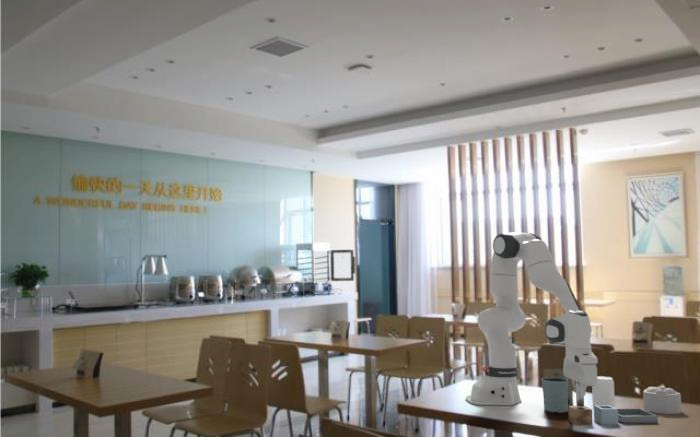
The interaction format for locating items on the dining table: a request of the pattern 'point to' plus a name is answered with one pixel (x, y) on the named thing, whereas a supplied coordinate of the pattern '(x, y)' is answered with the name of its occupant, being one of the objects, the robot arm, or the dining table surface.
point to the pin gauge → (579, 396)
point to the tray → (636, 416)
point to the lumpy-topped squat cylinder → (662, 400)
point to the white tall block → (603, 391)
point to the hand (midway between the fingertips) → (579, 394)
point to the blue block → (605, 414)
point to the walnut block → (580, 415)
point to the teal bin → (555, 394)
